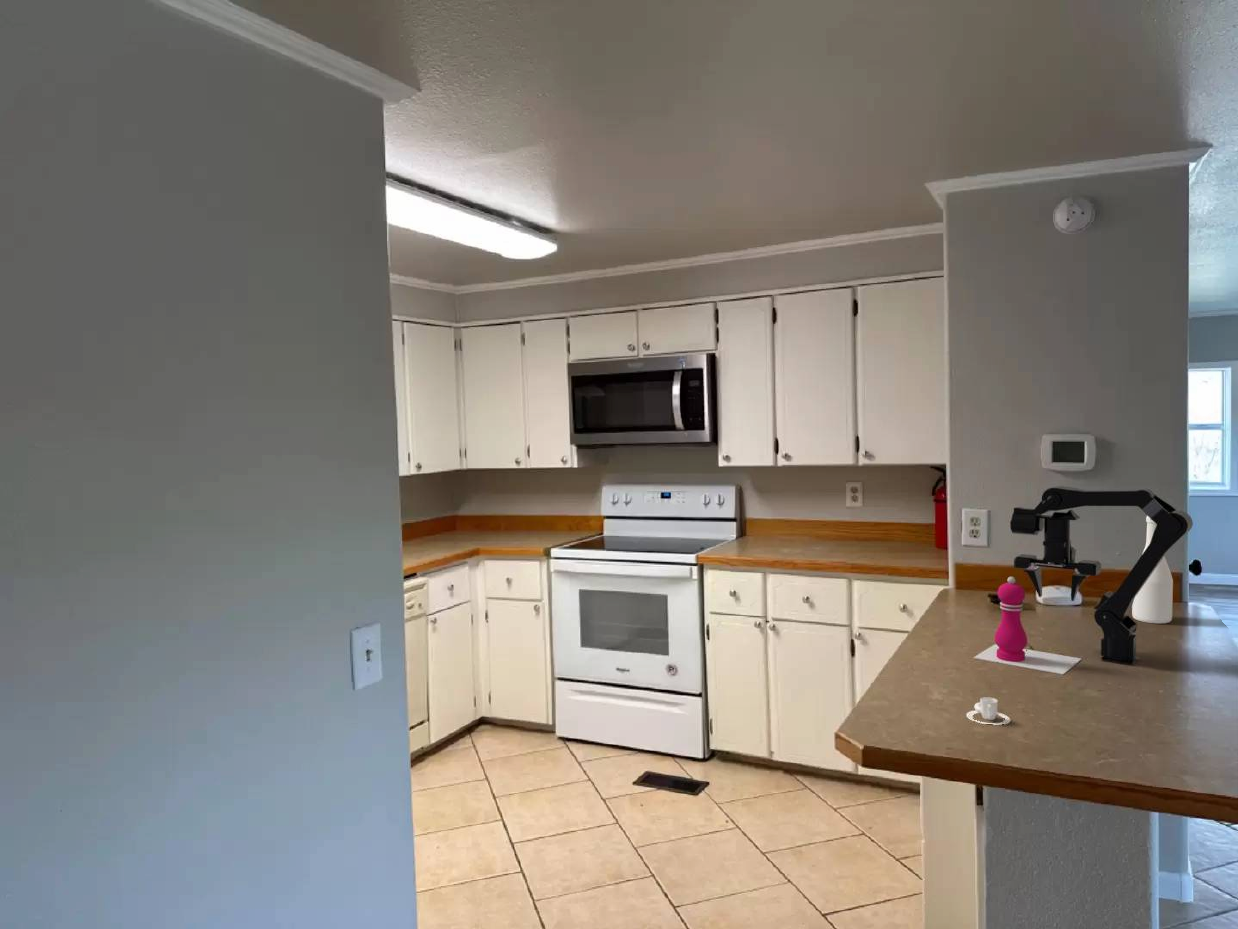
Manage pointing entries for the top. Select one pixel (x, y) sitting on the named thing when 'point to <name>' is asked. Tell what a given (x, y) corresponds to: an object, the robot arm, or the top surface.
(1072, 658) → the rubber mat
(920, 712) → the top surface
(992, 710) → the teacup and saucer
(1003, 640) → the pepper mill
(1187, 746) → the top surface
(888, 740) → the top surface
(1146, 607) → the wine bottle
